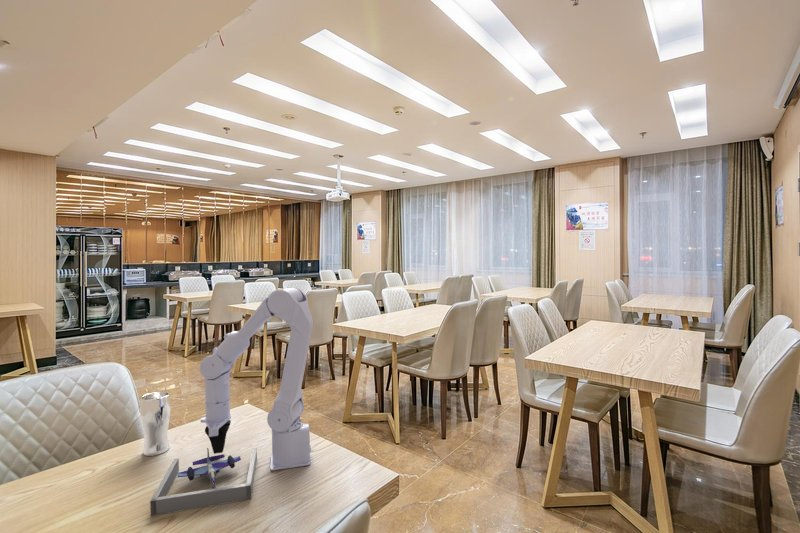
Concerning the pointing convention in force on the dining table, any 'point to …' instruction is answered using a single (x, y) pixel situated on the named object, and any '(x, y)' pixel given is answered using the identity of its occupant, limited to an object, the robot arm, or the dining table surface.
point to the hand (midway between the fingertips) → (218, 451)
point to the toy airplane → (209, 467)
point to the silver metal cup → (155, 422)
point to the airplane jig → (199, 492)
